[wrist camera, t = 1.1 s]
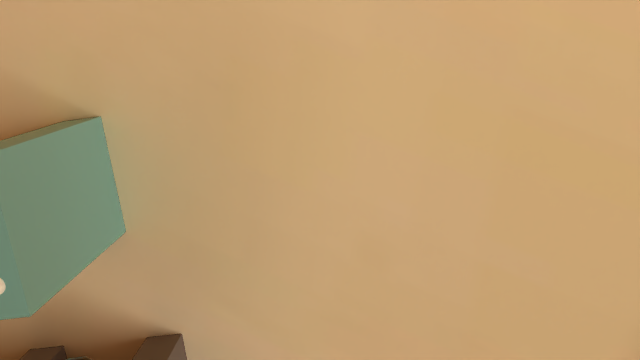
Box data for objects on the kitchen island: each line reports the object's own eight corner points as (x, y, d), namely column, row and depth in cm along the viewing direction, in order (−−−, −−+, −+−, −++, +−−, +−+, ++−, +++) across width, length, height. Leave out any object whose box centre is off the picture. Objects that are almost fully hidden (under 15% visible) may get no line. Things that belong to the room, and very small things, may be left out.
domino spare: (126, 231, 26) (24, 321, 18) (90, 235, 26) (-27, 326, 18) (100, 116, 25) (-19, 156, 17) (63, 121, 25) (-74, 163, 17)
